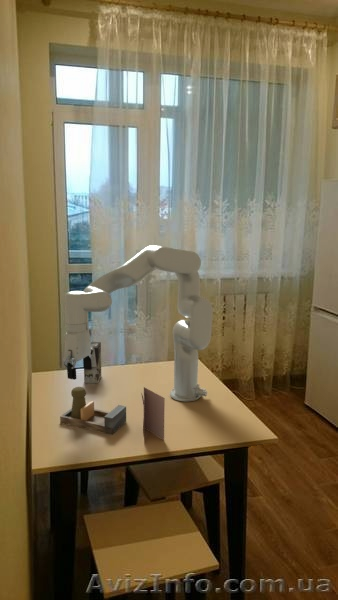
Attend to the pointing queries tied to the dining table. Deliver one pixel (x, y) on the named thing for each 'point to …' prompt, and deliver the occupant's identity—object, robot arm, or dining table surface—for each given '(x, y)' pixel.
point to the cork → (78, 401)
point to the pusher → (87, 411)
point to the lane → (99, 420)
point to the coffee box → (94, 365)
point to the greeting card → (153, 413)
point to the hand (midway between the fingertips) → (80, 373)
